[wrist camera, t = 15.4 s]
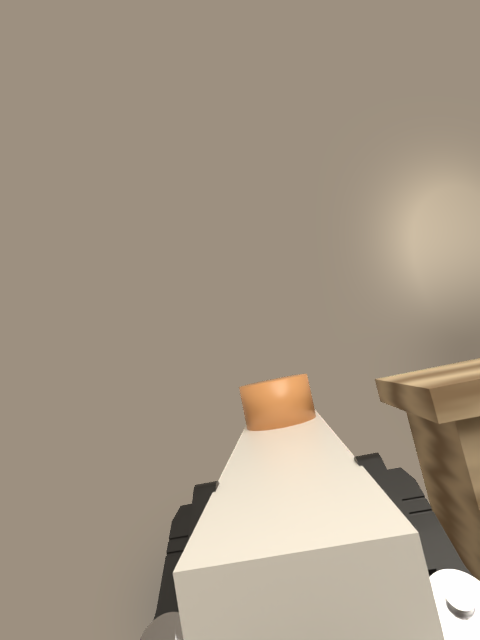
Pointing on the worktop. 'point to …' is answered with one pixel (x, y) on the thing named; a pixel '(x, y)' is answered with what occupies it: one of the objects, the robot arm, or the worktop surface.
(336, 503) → the bar
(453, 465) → the tall wooden block
